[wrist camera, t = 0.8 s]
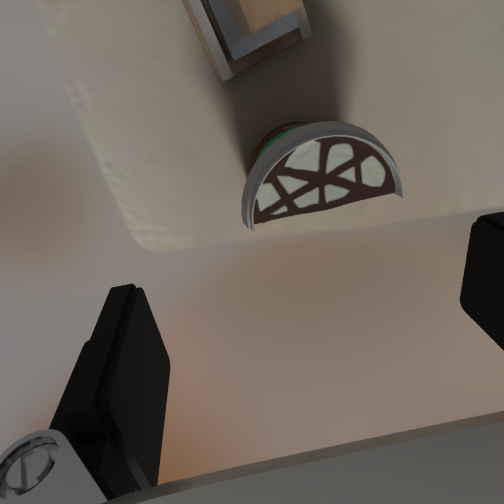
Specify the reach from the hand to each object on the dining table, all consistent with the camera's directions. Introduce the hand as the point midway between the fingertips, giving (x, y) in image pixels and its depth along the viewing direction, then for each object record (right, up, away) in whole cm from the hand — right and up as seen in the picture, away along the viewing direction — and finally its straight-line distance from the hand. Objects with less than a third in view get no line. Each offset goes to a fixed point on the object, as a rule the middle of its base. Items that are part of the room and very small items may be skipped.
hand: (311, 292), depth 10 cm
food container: (+2, +11, +23) cm, 26 cm away
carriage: (-2, +19, +16) cm, 25 cm away
